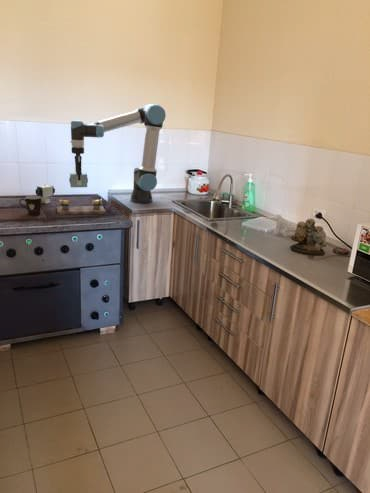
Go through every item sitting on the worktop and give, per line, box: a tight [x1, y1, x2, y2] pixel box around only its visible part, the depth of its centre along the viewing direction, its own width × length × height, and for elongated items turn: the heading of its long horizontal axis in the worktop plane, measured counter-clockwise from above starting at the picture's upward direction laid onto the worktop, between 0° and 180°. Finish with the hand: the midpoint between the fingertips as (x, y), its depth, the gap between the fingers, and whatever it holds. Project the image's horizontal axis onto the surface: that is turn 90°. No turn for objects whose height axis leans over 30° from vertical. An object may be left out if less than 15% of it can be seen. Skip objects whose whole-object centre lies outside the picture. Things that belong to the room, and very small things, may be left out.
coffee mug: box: [18, 195, 42, 217], centre depth 242 cm, size 12×9×10 cm
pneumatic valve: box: [35, 183, 56, 205], centre depth 269 cm, size 6×12×12 cm, turn 146°
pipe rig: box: [58, 198, 103, 210], centre depth 255 cm, size 25×4×6 cm, turn 109°
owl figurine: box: [289, 217, 327, 257], centre depth 210 cm, size 18×12×17 cm, turn 78°
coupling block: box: [68, 172, 89, 188], centre depth 265 cm, size 11×5×8 cm, turn 109°
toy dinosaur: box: [265, 213, 297, 237], centre depth 235 cm, size 7×24×11 cm, turn 65°
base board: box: [55, 205, 107, 216], centre depth 256 cm, size 28×13×2 cm, turn 109°
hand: (78, 184), depth 266 cm, fingers closed on coupling block, 5 cm apart
